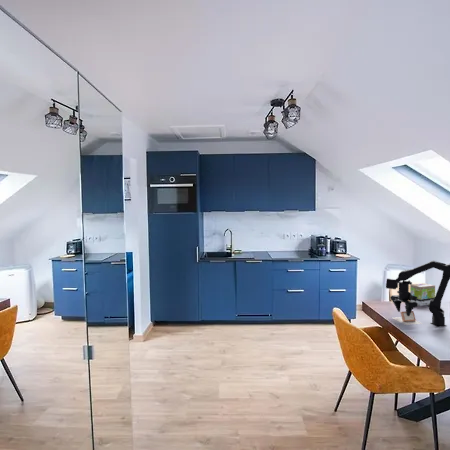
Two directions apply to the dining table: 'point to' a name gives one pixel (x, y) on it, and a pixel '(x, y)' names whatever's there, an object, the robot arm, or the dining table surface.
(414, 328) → the dining table surface
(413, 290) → the tea box
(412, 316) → the tile
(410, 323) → the mat
